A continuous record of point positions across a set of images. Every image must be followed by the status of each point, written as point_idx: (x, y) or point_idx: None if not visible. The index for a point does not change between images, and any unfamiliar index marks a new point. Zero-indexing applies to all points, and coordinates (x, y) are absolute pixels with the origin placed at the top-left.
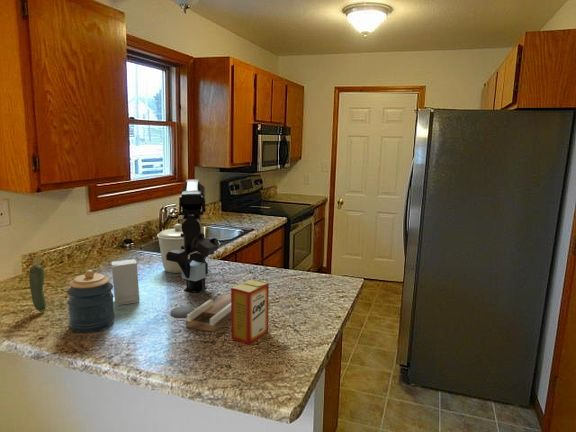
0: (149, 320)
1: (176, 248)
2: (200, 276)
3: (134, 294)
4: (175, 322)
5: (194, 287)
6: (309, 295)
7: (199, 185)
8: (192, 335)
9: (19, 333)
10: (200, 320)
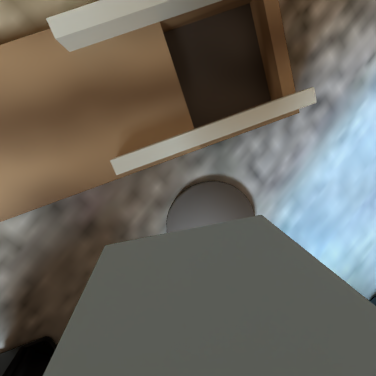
0: (313, 246)
1: None
2: (191, 245)
3: None
4: (279, 174)
5: (44, 371)
6: None
7: None
8: (321, 33)
9: None
10: (220, 111)
